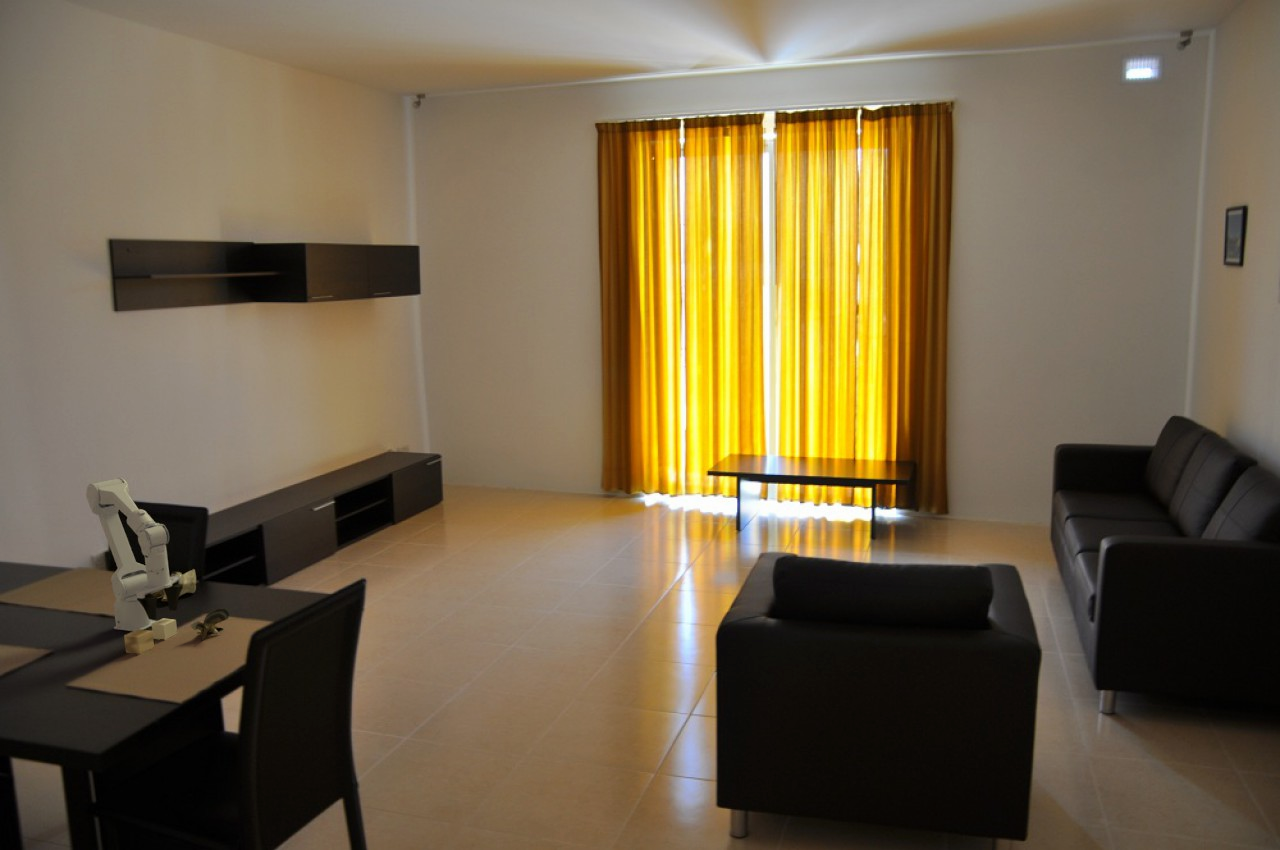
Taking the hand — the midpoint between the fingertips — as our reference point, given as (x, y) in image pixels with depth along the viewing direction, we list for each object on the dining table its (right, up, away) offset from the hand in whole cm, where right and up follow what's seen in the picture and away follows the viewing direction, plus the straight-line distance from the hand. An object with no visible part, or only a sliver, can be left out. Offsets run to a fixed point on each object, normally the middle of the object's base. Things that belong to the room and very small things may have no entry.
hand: (162, 614), depth 296 cm
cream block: (0, -7, +1) cm, 7 cm away
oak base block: (-2, -8, -8) cm, 12 cm away
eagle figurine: (+13, -6, +2) cm, 15 cm away
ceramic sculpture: (-12, -1, +35) cm, 37 cm away
